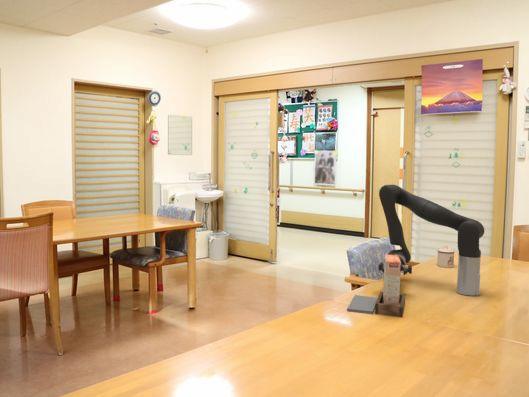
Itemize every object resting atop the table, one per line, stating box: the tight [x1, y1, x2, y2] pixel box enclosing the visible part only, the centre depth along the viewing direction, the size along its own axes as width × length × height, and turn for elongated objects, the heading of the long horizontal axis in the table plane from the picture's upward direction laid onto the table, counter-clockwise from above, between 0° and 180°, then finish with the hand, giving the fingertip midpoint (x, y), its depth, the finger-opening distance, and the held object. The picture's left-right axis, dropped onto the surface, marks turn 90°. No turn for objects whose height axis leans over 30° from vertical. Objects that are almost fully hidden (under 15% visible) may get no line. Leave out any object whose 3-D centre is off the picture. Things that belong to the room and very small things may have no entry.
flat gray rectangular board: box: [346, 294, 378, 315], centre depth 201 cm, size 10×20×1 cm, turn 161°
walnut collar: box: [374, 291, 406, 318], centre depth 197 cm, size 10×18×4 cm, turn 161°
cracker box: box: [382, 254, 402, 306], centre depth 196 cm, size 14×6×21 cm, turn 168°
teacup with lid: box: [436, 245, 455, 269], centre depth 275 cm, size 12×9×12 cm
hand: (394, 271), depth 210 cm, fingers open, 8 cm apart
